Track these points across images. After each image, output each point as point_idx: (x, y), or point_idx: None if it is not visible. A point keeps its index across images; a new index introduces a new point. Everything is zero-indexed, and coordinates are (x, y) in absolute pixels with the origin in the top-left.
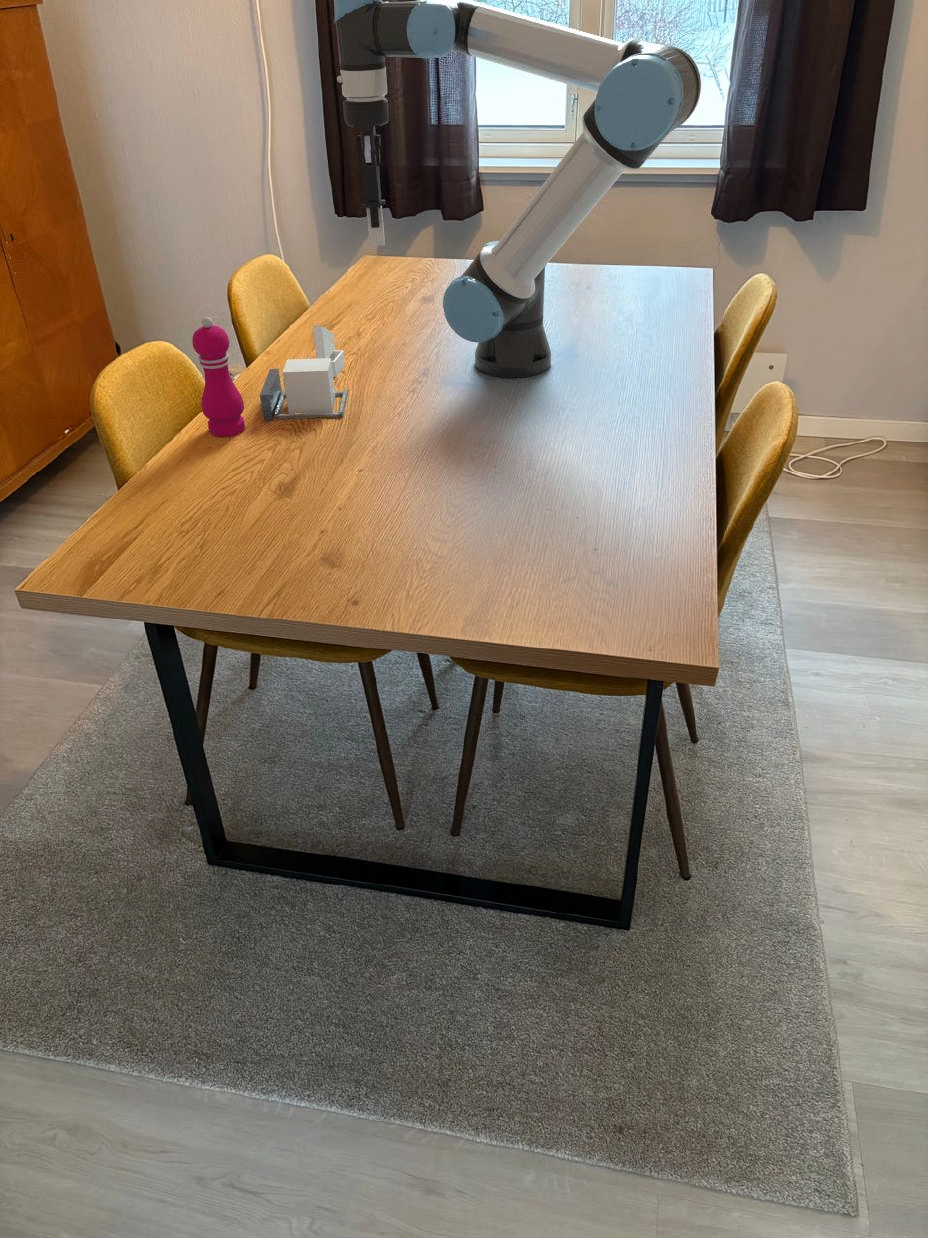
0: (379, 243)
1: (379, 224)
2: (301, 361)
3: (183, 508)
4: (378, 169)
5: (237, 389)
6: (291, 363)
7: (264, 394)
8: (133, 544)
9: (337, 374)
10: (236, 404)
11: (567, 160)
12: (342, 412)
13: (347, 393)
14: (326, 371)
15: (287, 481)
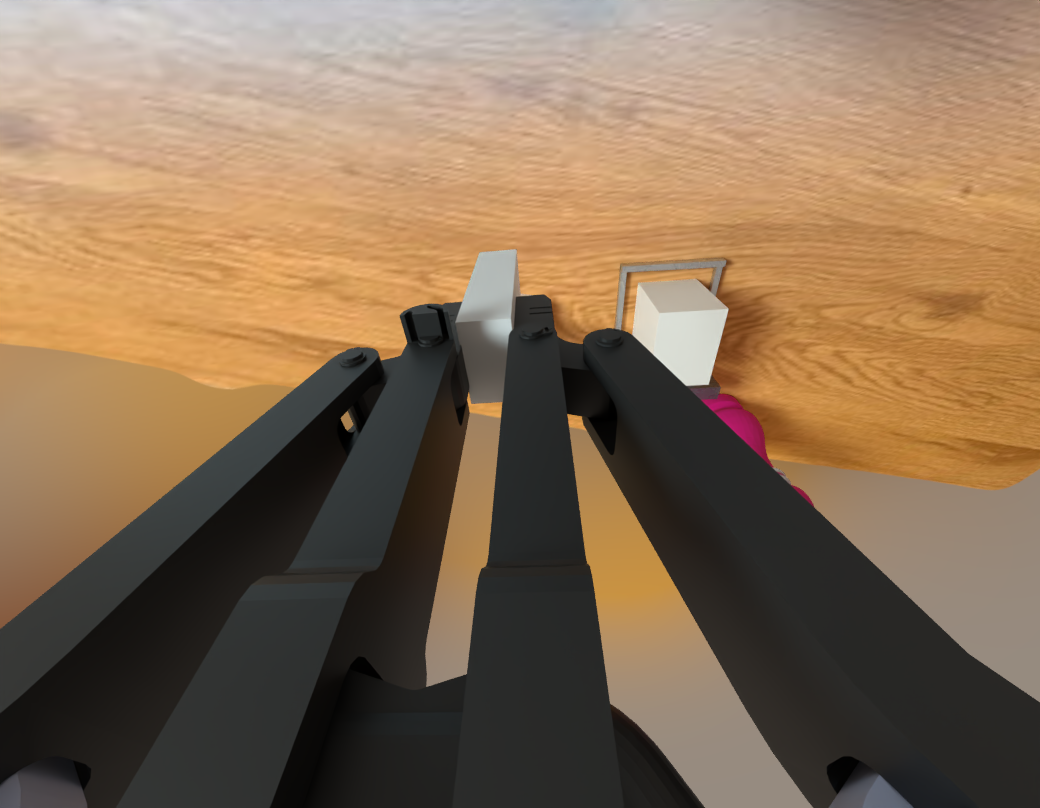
0: (518, 274)
1: (515, 298)
2: (664, 363)
3: (925, 413)
4: (246, 491)
5: (736, 431)
6: None
7: (717, 393)
8: (981, 438)
9: (530, 295)
10: (755, 421)
11: None
12: (726, 260)
13: (624, 264)
14: (727, 311)
15: (928, 308)
